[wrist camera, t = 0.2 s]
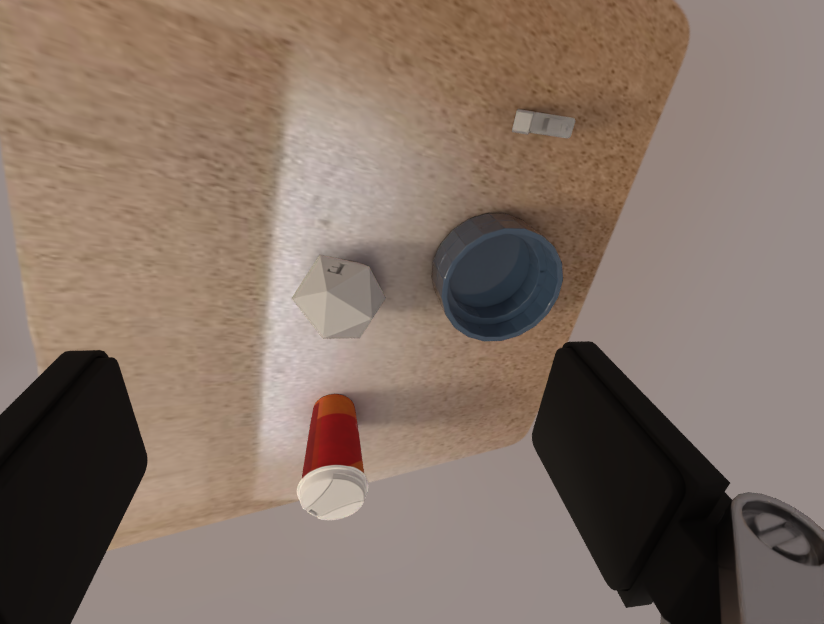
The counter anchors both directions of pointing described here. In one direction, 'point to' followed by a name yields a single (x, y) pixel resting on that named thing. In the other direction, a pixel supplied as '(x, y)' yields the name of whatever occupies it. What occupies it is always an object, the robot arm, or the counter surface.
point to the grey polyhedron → (339, 297)
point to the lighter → (542, 124)
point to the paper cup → (333, 461)
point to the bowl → (496, 277)
